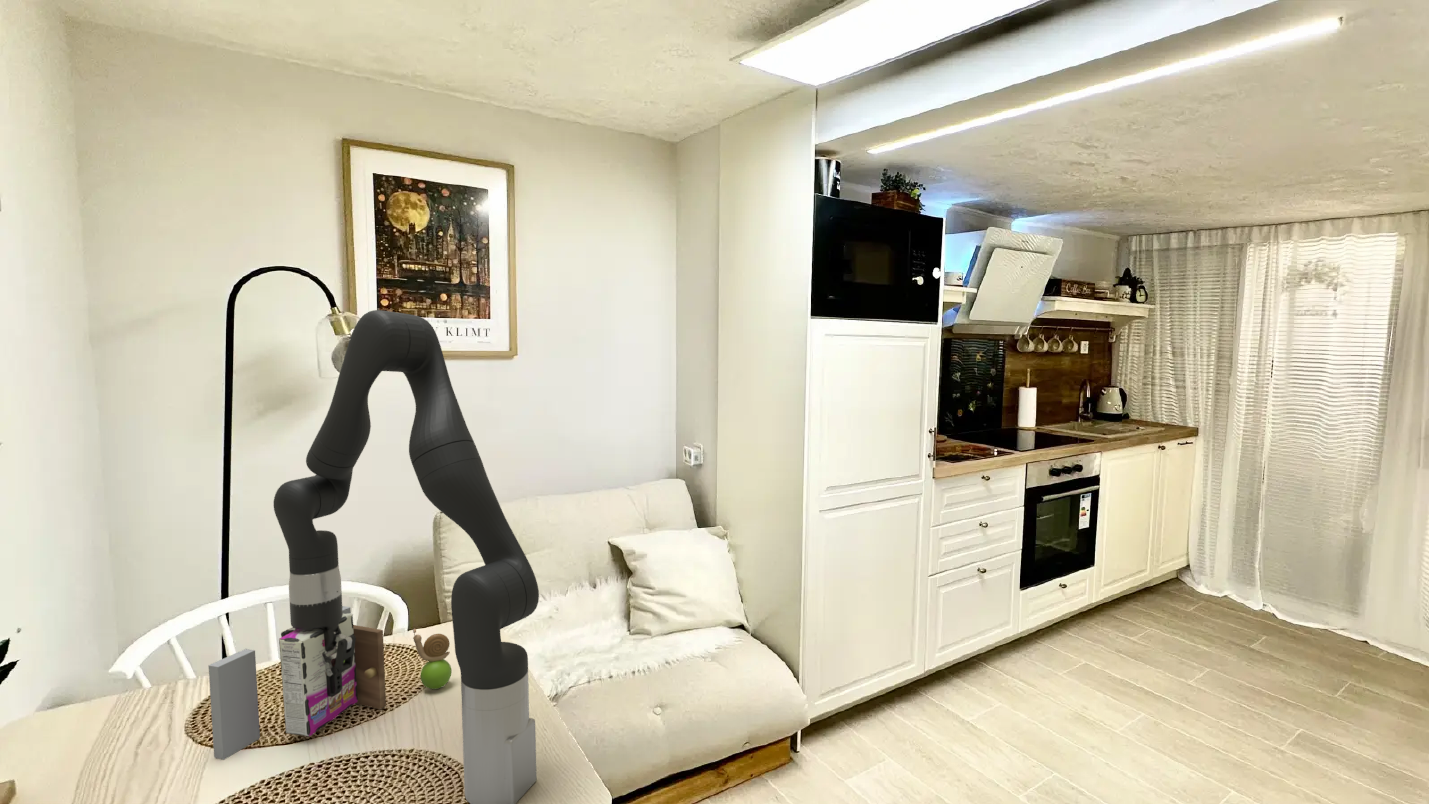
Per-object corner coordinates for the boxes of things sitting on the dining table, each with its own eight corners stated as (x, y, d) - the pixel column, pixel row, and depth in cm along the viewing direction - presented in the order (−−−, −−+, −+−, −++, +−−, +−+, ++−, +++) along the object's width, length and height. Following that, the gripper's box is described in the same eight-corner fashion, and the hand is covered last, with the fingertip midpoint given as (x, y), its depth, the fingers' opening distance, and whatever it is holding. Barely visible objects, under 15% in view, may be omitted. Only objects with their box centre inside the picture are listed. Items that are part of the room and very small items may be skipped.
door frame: (353, 683, 127) (350, 607, 126) (223, 759, 103) (217, 667, 102) (345, 681, 128) (342, 606, 127) (214, 757, 104) (208, 665, 103)
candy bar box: (334, 699, 119) (330, 610, 117) (358, 702, 118) (355, 612, 116) (282, 734, 108) (277, 637, 107) (308, 738, 107) (303, 640, 106)
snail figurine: (415, 685, 126) (412, 624, 125) (451, 678, 129) (449, 618, 128) (415, 698, 122) (413, 635, 121) (452, 690, 124) (450, 629, 123)
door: (334, 694, 122) (330, 620, 121) (385, 705, 118) (382, 630, 117) (322, 700, 120) (319, 626, 119) (375, 712, 116) (371, 635, 115)
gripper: (367, 591, 113) (372, 687, 114) (302, 582, 117) (307, 675, 118) (330, 607, 105) (335, 710, 107) (262, 598, 110) (268, 696, 111)
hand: (320, 691), depth 112 cm, fingers closed on candy bar box, 5 cm apart
